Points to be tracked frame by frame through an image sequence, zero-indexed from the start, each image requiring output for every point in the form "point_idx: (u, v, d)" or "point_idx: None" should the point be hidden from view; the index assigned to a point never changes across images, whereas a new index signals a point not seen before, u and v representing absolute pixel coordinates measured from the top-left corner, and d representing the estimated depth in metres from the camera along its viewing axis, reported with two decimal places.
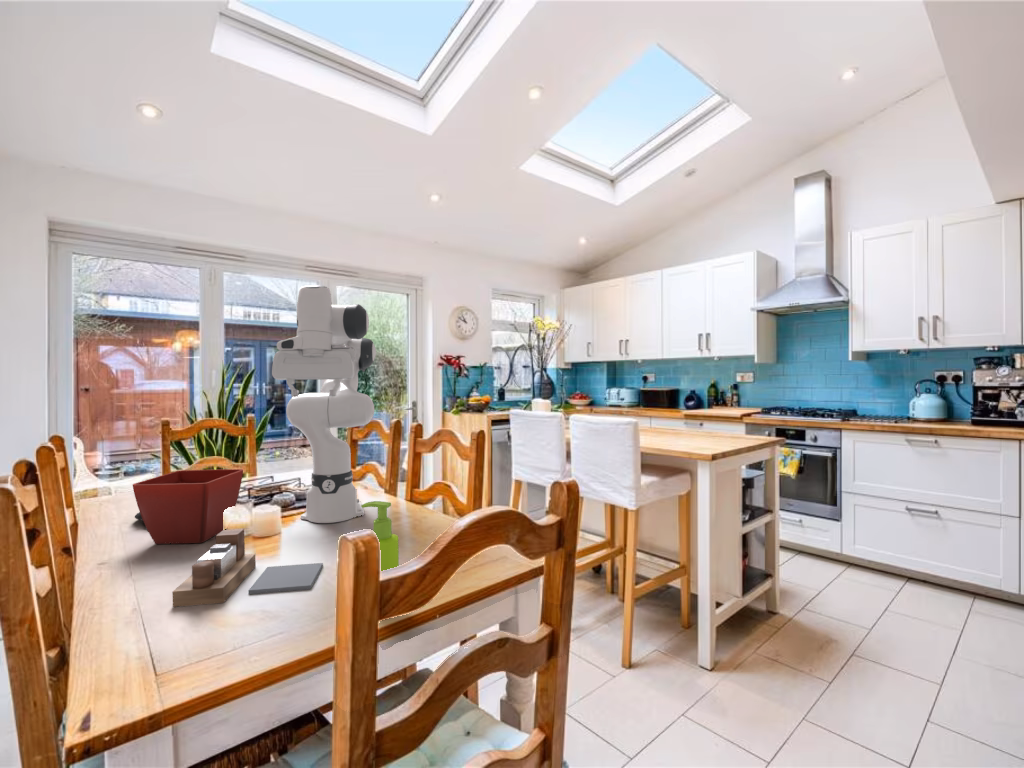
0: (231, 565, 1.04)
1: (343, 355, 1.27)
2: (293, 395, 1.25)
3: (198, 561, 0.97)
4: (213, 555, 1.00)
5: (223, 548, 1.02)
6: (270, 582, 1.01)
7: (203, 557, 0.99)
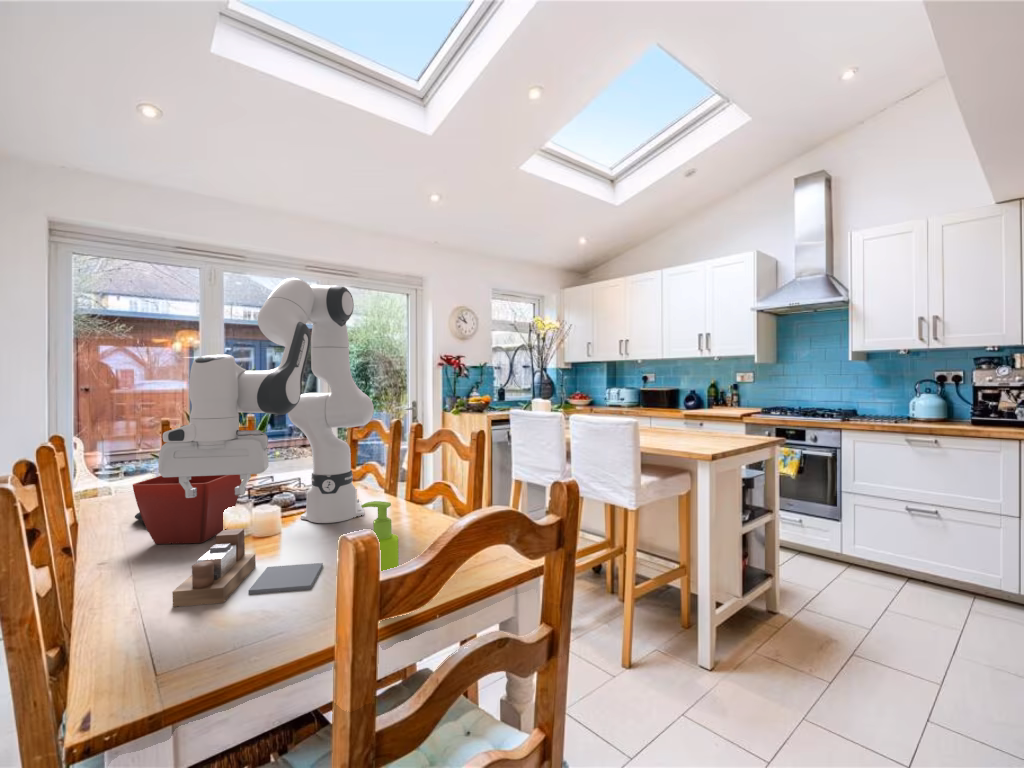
0: (231, 565, 1.04)
1: (251, 445, 1.01)
2: (188, 496, 1.00)
3: (198, 561, 0.97)
4: (213, 555, 1.00)
5: (223, 548, 1.02)
6: (270, 582, 1.01)
7: (203, 557, 0.99)
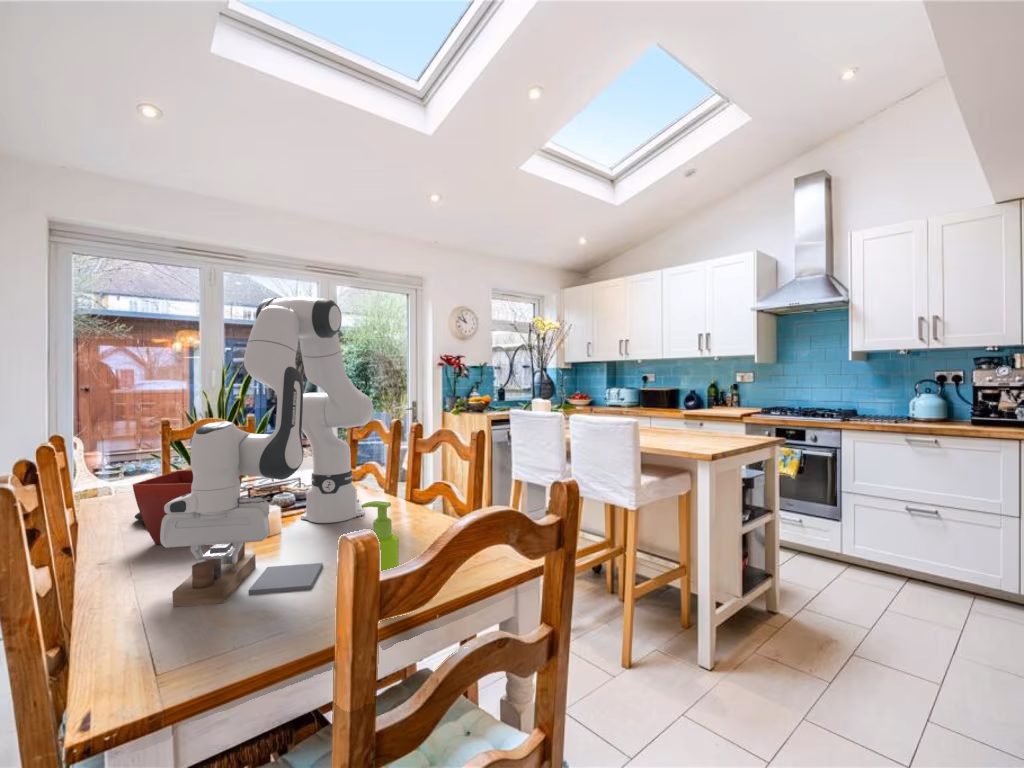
0: (231, 565, 1.04)
1: (252, 513, 1.01)
2: None
3: (198, 561, 0.97)
4: (213, 555, 1.00)
5: (223, 548, 1.02)
6: (270, 582, 1.01)
7: (203, 557, 0.99)
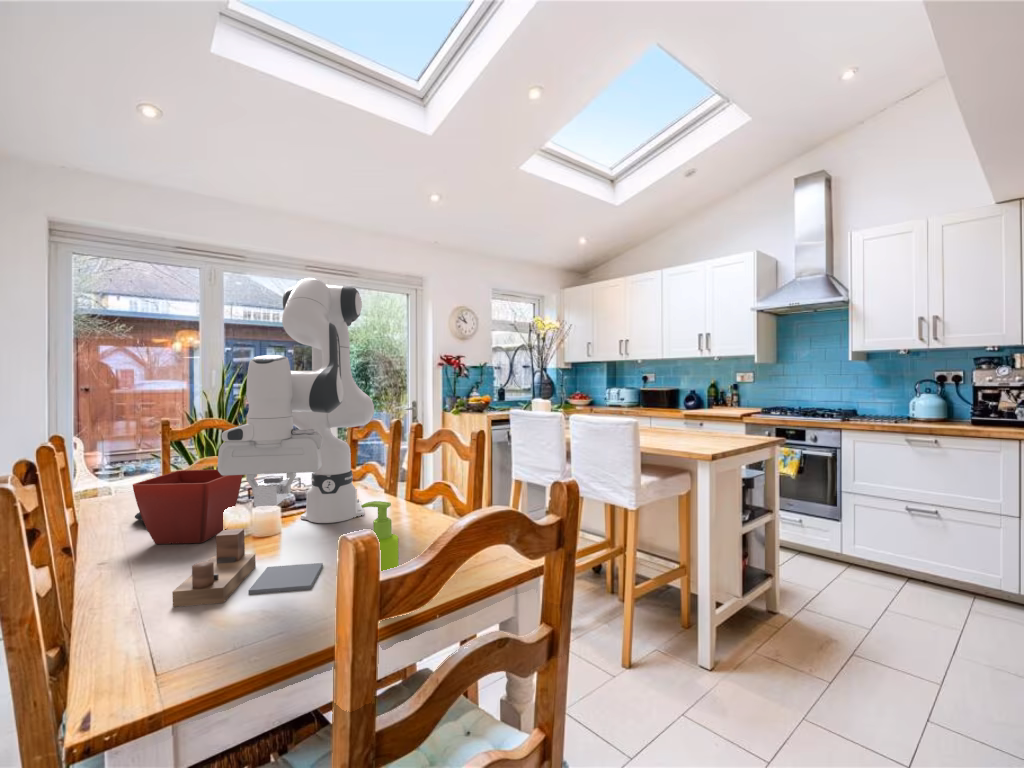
0: (284, 497, 1.05)
1: (306, 444, 1.03)
2: None
3: (254, 488, 0.99)
4: (268, 484, 1.02)
5: (277, 479, 1.04)
6: (270, 582, 1.01)
7: (259, 485, 1.01)
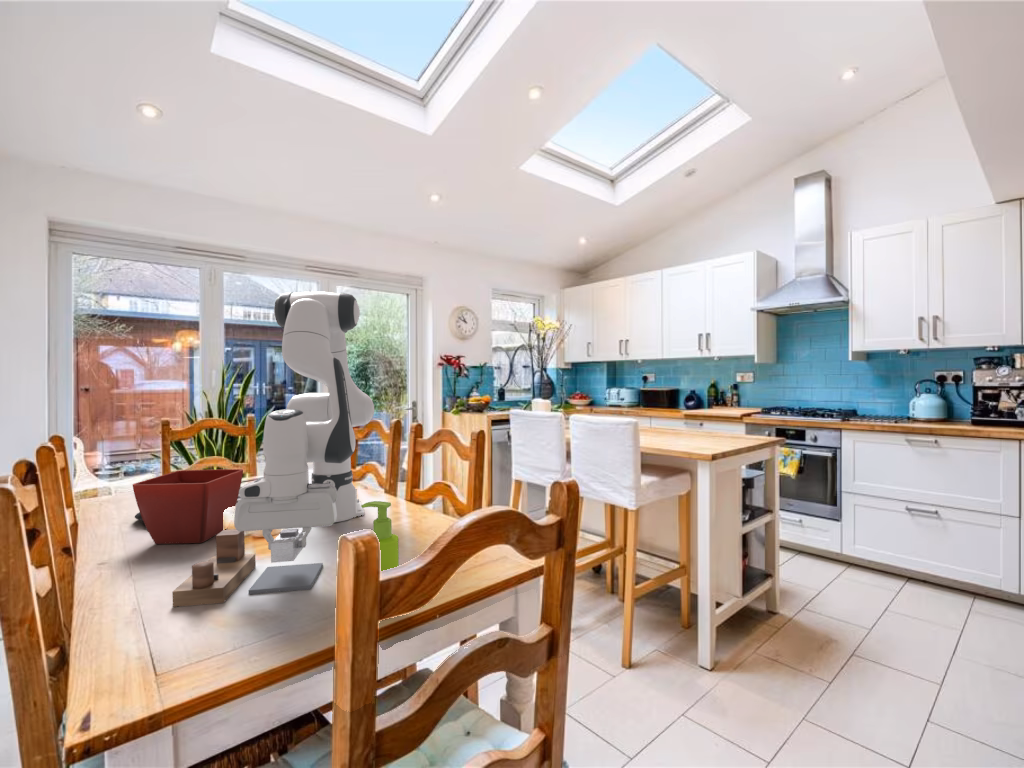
0: (300, 550, 1.06)
1: (322, 499, 1.04)
2: None
3: (271, 544, 1.00)
4: (284, 539, 1.02)
5: (292, 533, 1.05)
6: (270, 582, 1.01)
7: (275, 541, 1.01)
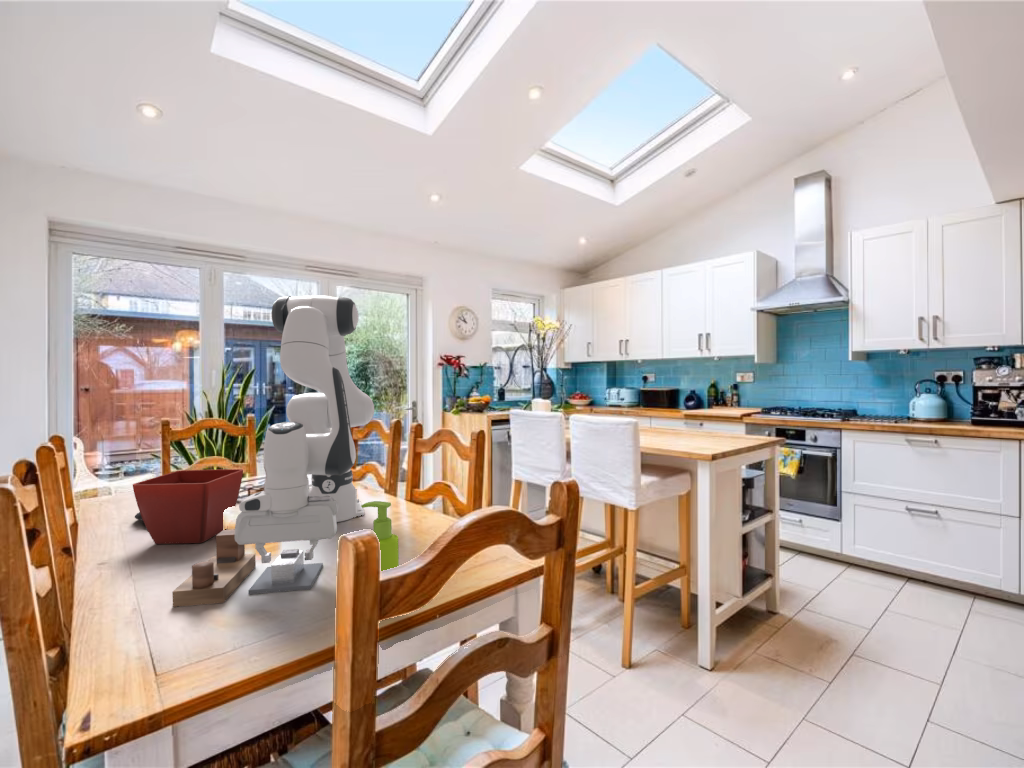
0: (300, 570, 1.06)
1: (322, 512, 1.04)
2: (264, 562, 1.03)
3: (272, 566, 1.00)
4: (285, 560, 1.02)
5: (293, 553, 1.05)
6: (270, 582, 1.01)
7: (276, 562, 1.01)
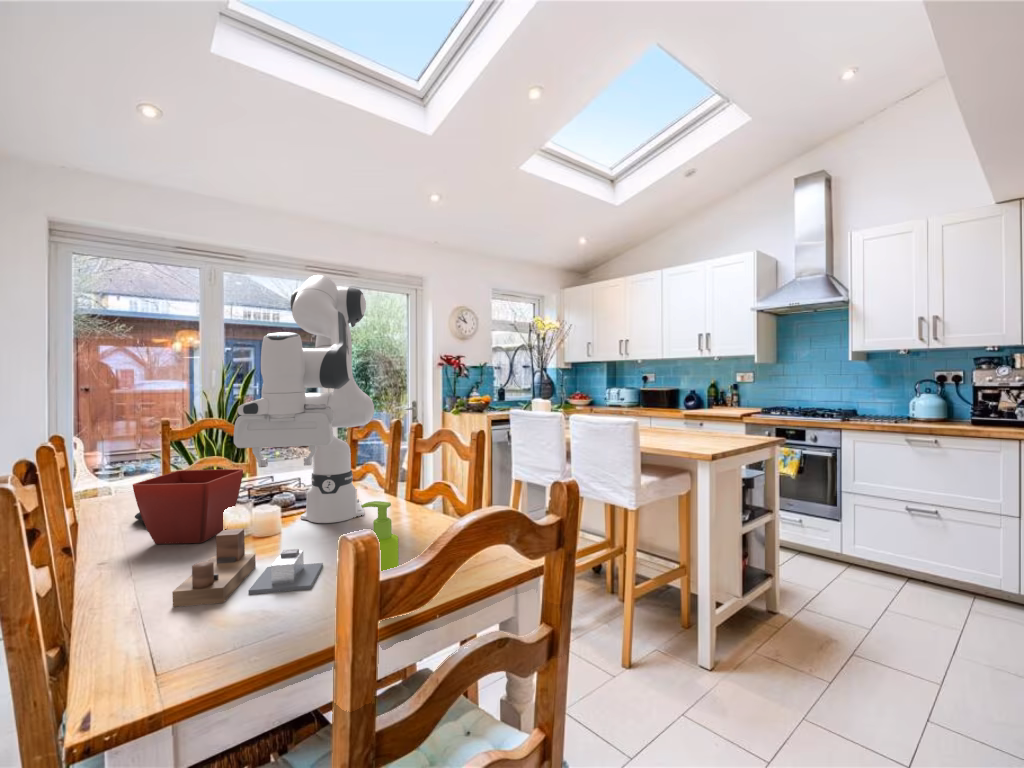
0: (300, 570, 1.06)
1: (318, 418, 1.07)
2: (261, 466, 1.06)
3: (272, 566, 1.00)
4: (285, 560, 1.02)
5: (293, 553, 1.05)
6: (270, 582, 1.01)
7: (276, 562, 1.01)
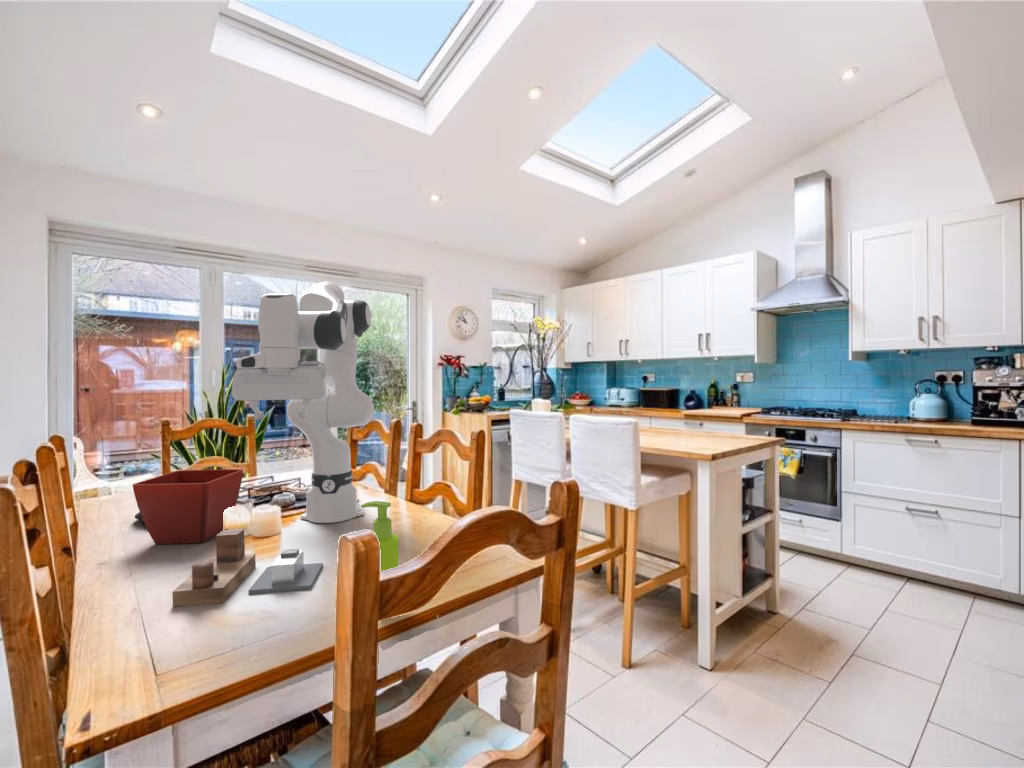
0: (300, 570, 1.06)
1: (312, 373, 1.13)
2: (257, 418, 1.12)
3: (272, 566, 1.00)
4: (285, 560, 1.02)
5: (293, 553, 1.05)
6: (270, 582, 1.01)
7: (276, 562, 1.01)
